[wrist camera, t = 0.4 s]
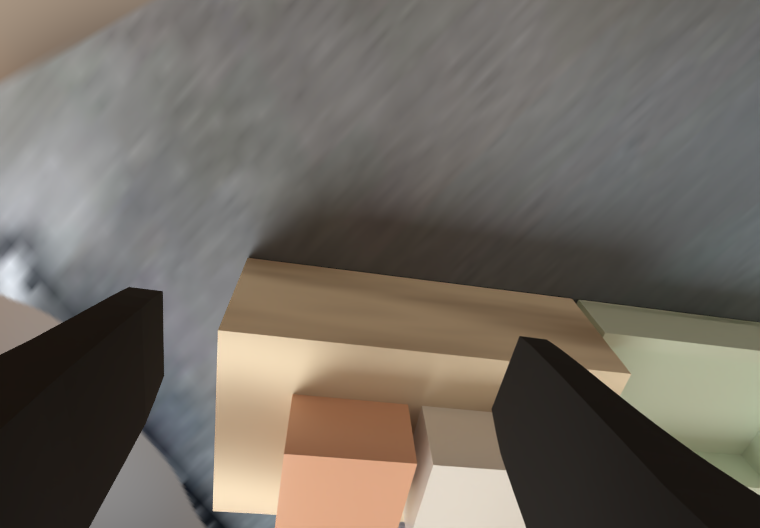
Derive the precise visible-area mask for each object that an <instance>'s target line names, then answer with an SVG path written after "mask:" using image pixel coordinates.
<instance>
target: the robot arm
mask: <svg viewBox="0 0 760 528" xmlns="http://www.w3.org/2000/svg"><path fill="white" fill-rule="evenodd" d="M163 377H164V347H163V291H156V290H148V289H140V288H132V287H128V288H126V289H124V290H122V291H120V292H118V293H116V294H114V295H112V296H110V297H109V298H107V299H105V300H103V301H101V302H99V303H98V304H96V305H94V306H92V307H90V308H89V309H87V310H85V311H83V312H81V313H80V314H78V315H76V316H74V317H72V318H70V319H68V320H67V321H65V322H63V323H61V324H59V325H57V326H56V327H54V328H52V329H50V330H48V331H46V332H44V333H42V334H41V335H39V336H37V337H35V338H33V339H32V340H29V341H27V342H26V343H23V344H22V345H19V346H17V347H15V348H13V349H11V350H9V351H7V352H5V353H3V354H1V355H0V528H89V526H90V525H91V523H92V521H93V519H94V517H95V516H96V514H97V512H98V510H99V508H100V506H101V504H102V503H103V501H104V499H105V497H106V495H107V494H108V492H109V490H110V488H111V486H112V484H113V482H114V481H115V479H116V477H117V475H118V473H119V472H120V470H121V468H122V466H123V464H124V463H125V461H126V459H127V457H128V455H129V453H130V451H131V450H132V448H133V446H134V444H135V442H136V440H137V438H138V436H139V435H140V433H141V431H142V429H143V427H144V425H145V423H146V421H147V418H148V416H149V413H150V411H151V408H152V406H153V403H154V401H155V398H156V396H157V393H158V390H159V387H160V385H161V382H162V379H163ZM492 415H493V420H494V425H495V431H496V436H497V440H498V445H499V449H500V454H501V457H502V460H503V463H504V466H505V469H506V472H507V475H508V478H509V481H510V483H511V486H512V489H513V492H514V495H515V498H516V501H517V503H518V506H519V509H520V512H521V515H522V518H523V520H524V523H525V526H526V528H760V495H759V494H757V493H755V492H754V491H752V490H751V489H749V488H748V487H746V486H745V485H743V484H741V483H740V482H738V481H737V480H735V479H734V478H732V477H731V476H729V475H728V474H726V473H725V472H723V471H721V470H720V469H718V468H717V467H715V466H714V465H712V464H711V463H709V462H708V461H706V460H705V459H703V458H702V457H701V456H699V455H698V454H696V453H695V452H693V451H692V450H691V449H689V448H688V447H686V446H685V445H684V444H682V443H681V442H680V441H678V440H677V439H675V438H674V437H673V436H671V435H670V434H669V433H667V432H666V431H665V430H663V429H662V428H660V427H659V426H658V425H656V424H655V423H654V422H652V421H651V420H650V419H649V418H647V417H646V416H645V415H643V414H642V413H641V412H639V411H638V410H637V409H636V408H634V407H633V406H632V405H630V404H629V403H628V402H627V401H625V400H624V399H623V398H622V397H620V396H619V395H618V394H617V393H615V392H614V391H613V390H612V389H610V388H609V387H608V386H607V385H605V384H604V383H603V382H602V381H600V380H599V379H598V378H597V377H596V376H594V375H593V374H592V373H591V372H589V371H588V370H587V369H586V368H584V367H583V366H582V365H581V364H579V363H578V362H577V361H576V360H574V359H573V358H572V357H570V356H569V355H568V354H567V353H565V352H564V351H563V350H561V349H560V348H559V347H557V346H556V345H554V344H553V343H551V342H550V341H548V340H547V339H539V338H531V337H523V336H519V339H518V341H517V344H516V346H515V349H514V352H513V354H512V357H511V359H510V362H509V365H508V367H507V370H506V372H505V375H504V378H503V380H502V383H501V385H500V388H499V391H498V393H497V396H496V399H495V401H494V404H493V406H492ZM398 528H405V522H400V523H399V527H398Z"/></svg>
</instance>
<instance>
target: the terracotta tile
mask: <svg viewBox="0 0 760 528" xmlns="http://www.w3.org/2000/svg"><path fill="white" fill-rule="evenodd" d="M416 466H417V459H416V452H415V446H414V439H413V433H412V427H411V420H410V414H409V407H408V404H397V403H386V402H375V401H364V400H353V399H342V398H331V397H320V396H309V395H298V394H292V401H291V408H290V415H289V422H288V429H287V436H286V443H285V450H284V457H283V465H282V474H281V482H280V490H279V499H278V507H277V515H276V524H275V528H398V527H399V523H400V520H401V517H402V513H403V510H404V507H405V503H406V500H407V497H408V493H409V490H410V487H411V483H412V480H413V477H414V473H415V470H416Z"/></svg>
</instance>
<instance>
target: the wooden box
mask: <svg viewBox="0 0 760 528" xmlns="http://www.w3.org/2000/svg"><path fill="white" fill-rule="evenodd" d="M519 336H523V337H531V338H539V339H547V340H548V341H550V342H551V343H553V344H554V345H556V346H557V347H559V348H560V349H561V350H563V351H564V352H565V353H567V354H568V355H569V356H570V357H572V358H573V359H574V360H576V361H577V362H578V363H579V364H581V365H582V366H583V367H584V368H586V369H587V370H588V371H589V372H591V373H592V374H593V375H594V376H596V377H597V378H598V379H599V380H600V381H602V382H603V383H604V384H605V385H607V386H608V387H609V388H610V389H612V390H613V391H614V392H615V393H617V394H618V395H619V396H620V395H621V393H622V391H623V389H624V387H625V385H626V383H627V382H628V380H629V378H630V376H631V373H630V372H629V370H628V369H627V368H626V367H625V365H624V364H623V363H622V361H621V360H620V359H619V358H618V356H617V355H616V354H615V353H614V351H613V350H612V349H611V348H610V346H609V345H608V344H607V342H606V341H605V340H604V339H603V337H602V336H601V335H600V334H599V332H598V331H597V330H596V328H595V327H594V326H593V325H592V323H591V322H590V321H589V320H588V318H587V317H586V316H585V315H584V313H583V312H582V311H581V309H580V308H579V307H578V306H577V304H576V303H575V302H574V301H573V299H570V298H562V297H554V296H546V295H538V294H530V293H523V292H515V291H507V290H499V289H491V288H483V287H475V286H467V285H459V284H451V283H443V282H435V281H427V280H420V279H412V278H404V277H396V276H388V275H380V274H372V273H364V272H356V271H348V270H340V269H332V268H324V267H317V266H309V265H301V264H293V263H285V262H277V261H269V260H261V259H253V258H247V261H246V263H245V266H244V268H243V271H242V273H241V276H240V278H239V280H238V283H237V285H236V288H235V290H234V293H233V295H232V298H231V300H230V302H229V305H228V307H227V310H226V312H225V315H224V317H223V320H222V322H221V324H220V327H219V329H218V351H217V385H216V419H215V454H214V488H213V511H221V512H239V513H256V514H273V515H277V507H278V499H279V490H280V482H281V474H282V465H283V457H284V450H285V443H286V436H287V429H288V422H289V415H290V408H291V401H292V394H298V395H309V396H320V397H331V398H342V399H353V400H364V401H375V402H386V403H397V404H408V407H409V414H410V420H411V427H412V433H413V436H414V432H415V429H416V425H417V422H418V418H419V415H420V411H421V408H422V406H430V407H441V408H452V409H463V410H474V411H485V412H492V406H493V404H494V401H495V399H496V396H497V393H498V391H499V388H500V385H501V383H502V380H503V378H504V375H505V372H506V370H507V367H508V365H509V362H510V359H511V357H512V354H513V352H514V349H515V346H516V344H517V341H518V339H519ZM400 522H404V514H403V513H402V517H401V520H400Z"/></svg>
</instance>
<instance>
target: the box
mask: <svg viewBox="0 0 760 528" xmlns="http://www.w3.org/2000/svg"><path fill="white" fill-rule="evenodd" d="M577 306H578V307H579V308H580V309H581V311H582V312H583V313H584V315H585V316H586V317H587V318H588V320H589V321H590V322H591V323H592V325H593V326H594V327H595V328H596V330H597V331H598V332H599V334H600V335H601V336H602V337H603V339H604V340H605V341H606V342H607V344H608V345H609V346H610V348H611V349H612V350H613V351H614V353H615V354H616V355H617V356H618V358H619V359H620V360H621V361H622V363H623V364H624V365H625V367H626V368H627V369H628V370H629V372H630V373H631V376H630V378H629V380H628V382H627V383H626V385H625V387H624V389H623V391H622V393H621V395H620V397H622V398H623V399H624V400H625V401H627V402H628V403H629V404H630V405H632V406H633V407H634V408H636V409H637V410H638V411H639V412H641V413H642V414H643V415H645V416H646V417H647V418H649V419H650V420H651V421H652V422H654V423H655V424H656V425H658V426H659V427H660V428H662V429H663V430H665V431H666V432H667V433H669V434H670V435H671V436H673V437H674V438H675V439H677V440H678V441H680V442H681V443H682V444H684V445H685V446H686V447H688V448H689V449H691V450H692V451H693V452H695V453H696V454H698V455H699V456H701V457H702V458H703V459H705V460H706V461H708V462H709V463H711V464H712V465H714V466H715V467H717V468H718V469H720V470H721V471H723V472H725V473H726V474H728V475H729V476H731V477H732V478H734V479H735V480H737V481H738V482H740V483H741V484H743V485H745V486H746V487H748V488H749V489H751V490H752V491H754V492H755V493H757V494H759V495H760V322H752V321H744V320H737V319H729V318H721V317H713V316H705V315H697V314H689V313H681V312H673V311H665V310H657V309H649V308H641V307H634V306H626V305H618V304H610V303H602V302H594V301H586V300H578V302H577Z"/></svg>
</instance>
